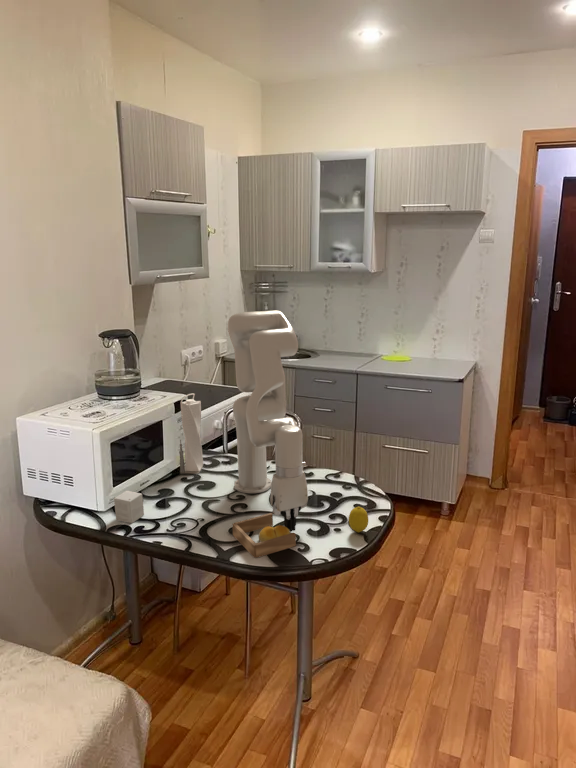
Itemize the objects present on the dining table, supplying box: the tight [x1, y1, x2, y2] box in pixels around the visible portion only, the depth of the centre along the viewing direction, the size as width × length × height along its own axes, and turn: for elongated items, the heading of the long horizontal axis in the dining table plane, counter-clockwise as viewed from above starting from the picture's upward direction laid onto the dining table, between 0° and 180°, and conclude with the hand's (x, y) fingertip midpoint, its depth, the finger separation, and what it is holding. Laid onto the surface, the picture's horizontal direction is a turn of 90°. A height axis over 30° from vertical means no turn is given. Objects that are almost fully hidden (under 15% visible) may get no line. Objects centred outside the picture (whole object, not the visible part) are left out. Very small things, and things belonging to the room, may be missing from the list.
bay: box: [231, 512, 297, 559], centre depth 164 cm, size 14×12×4 cm
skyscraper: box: [178, 393, 204, 475], centre depth 212 cm, size 8×8×28 cm
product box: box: [113, 490, 145, 524], centre depth 178 cm, size 6×6×7 cm
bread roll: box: [258, 524, 291, 543], centre depth 164 cm, size 8×9×4 cm
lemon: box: [348, 506, 369, 534], centre depth 167 cm, size 6×6×8 cm
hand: (290, 528), depth 169 cm, fingers closed
